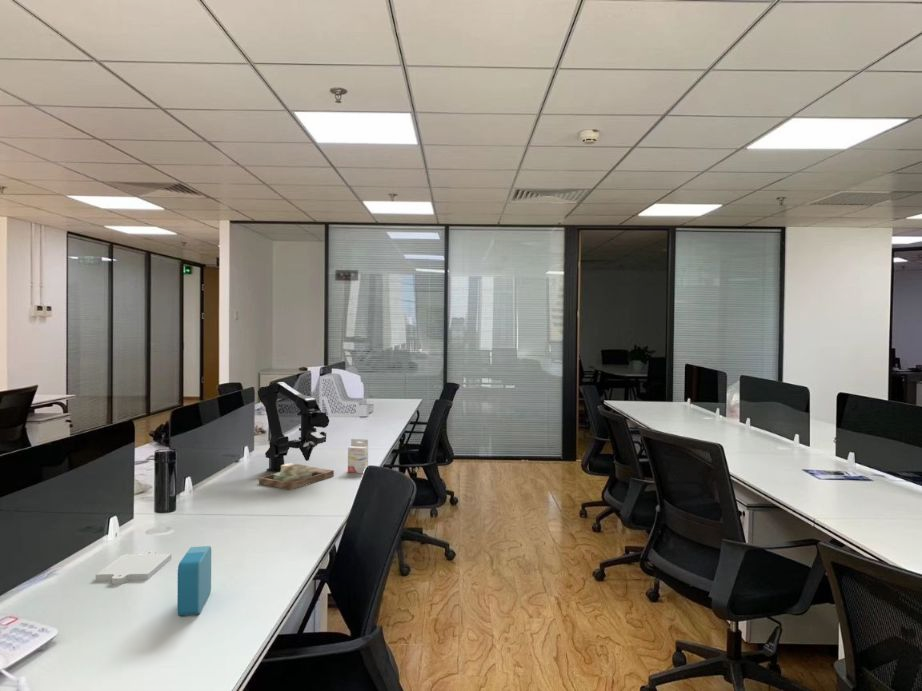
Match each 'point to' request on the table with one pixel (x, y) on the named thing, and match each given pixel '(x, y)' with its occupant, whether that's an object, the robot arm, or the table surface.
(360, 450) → the ink cartridge box
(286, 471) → the maple slab
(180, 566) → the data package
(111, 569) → the mounting plate
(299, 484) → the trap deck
